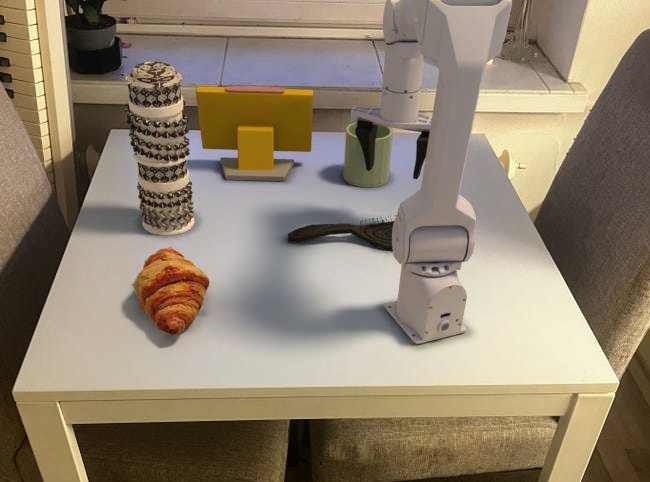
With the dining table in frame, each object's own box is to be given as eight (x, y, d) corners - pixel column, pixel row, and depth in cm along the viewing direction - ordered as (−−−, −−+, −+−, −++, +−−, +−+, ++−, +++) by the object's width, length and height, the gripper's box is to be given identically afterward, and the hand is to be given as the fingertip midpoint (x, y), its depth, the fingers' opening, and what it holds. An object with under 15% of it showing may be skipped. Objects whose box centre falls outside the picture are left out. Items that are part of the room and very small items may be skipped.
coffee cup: (395, 183, 139) (401, 136, 133) (355, 190, 136) (358, 142, 130) (375, 165, 145) (379, 118, 139) (336, 171, 142) (338, 124, 136)
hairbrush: (285, 211, 123) (438, 202, 125) (286, 231, 126) (436, 222, 127) (288, 238, 117) (449, 228, 118) (289, 258, 119) (447, 249, 121)
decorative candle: (135, 212, 127) (115, 58, 111) (191, 206, 130) (179, 54, 114) (143, 239, 120) (123, 80, 105) (201, 232, 123) (190, 75, 107)
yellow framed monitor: (310, 163, 144) (313, 79, 134) (310, 182, 138) (313, 95, 128) (204, 160, 144) (198, 75, 134) (199, 179, 137) (193, 92, 127)
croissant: (152, 281, 117) (121, 243, 112) (208, 250, 116) (179, 209, 111) (158, 366, 101) (123, 325, 96) (224, 330, 100) (191, 287, 95)
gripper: (455, 84, 114) (443, 169, 123) (362, 71, 117) (356, 154, 126) (445, 101, 109) (433, 188, 117) (348, 86, 112) (343, 172, 121)
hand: (392, 172), depth 121 cm, fingers open, 7 cm apart
